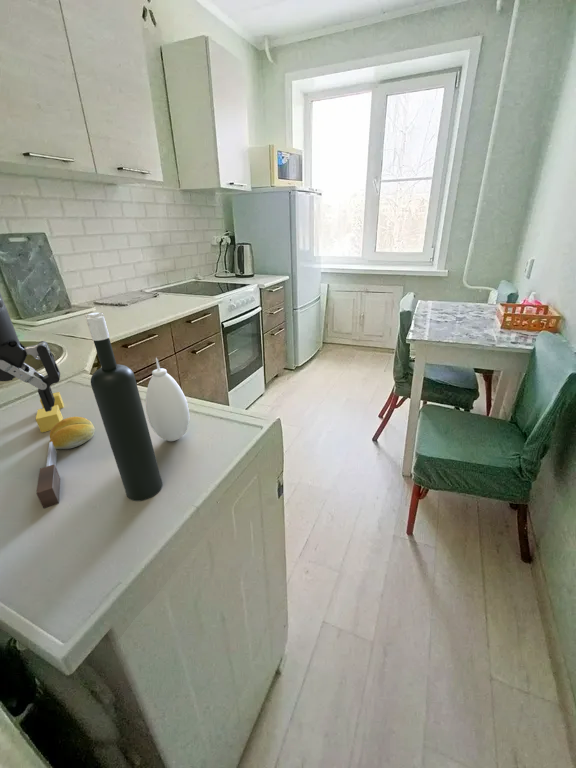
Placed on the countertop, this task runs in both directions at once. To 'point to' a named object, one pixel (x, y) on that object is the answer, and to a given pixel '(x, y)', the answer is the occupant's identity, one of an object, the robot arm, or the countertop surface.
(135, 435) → the wine bottle
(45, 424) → the butter block
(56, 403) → the butter pat
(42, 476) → the knife
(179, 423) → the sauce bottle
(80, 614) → the countertop surface
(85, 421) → the bread roll
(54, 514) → the countertop surface
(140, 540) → the countertop surface
